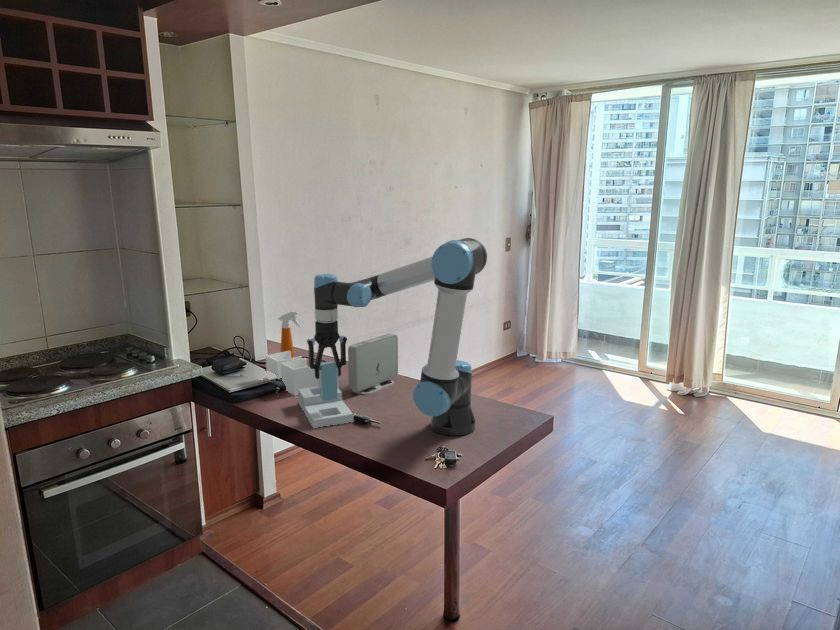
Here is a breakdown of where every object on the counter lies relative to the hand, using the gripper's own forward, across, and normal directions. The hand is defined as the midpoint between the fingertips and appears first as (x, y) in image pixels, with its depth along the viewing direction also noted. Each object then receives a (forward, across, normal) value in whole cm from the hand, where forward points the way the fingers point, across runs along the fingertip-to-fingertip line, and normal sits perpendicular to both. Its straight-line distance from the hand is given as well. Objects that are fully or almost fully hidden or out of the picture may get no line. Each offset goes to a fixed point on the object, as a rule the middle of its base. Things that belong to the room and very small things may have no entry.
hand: (328, 385), depth 194 cm
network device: (+13, -25, -26) cm, 38 cm away
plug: (+4, 0, 0) cm, 4 cm away
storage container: (+13, +5, -42) cm, 44 cm away
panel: (+13, 0, -7) cm, 14 cm away
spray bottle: (+13, +1, -64) cm, 65 cm away
